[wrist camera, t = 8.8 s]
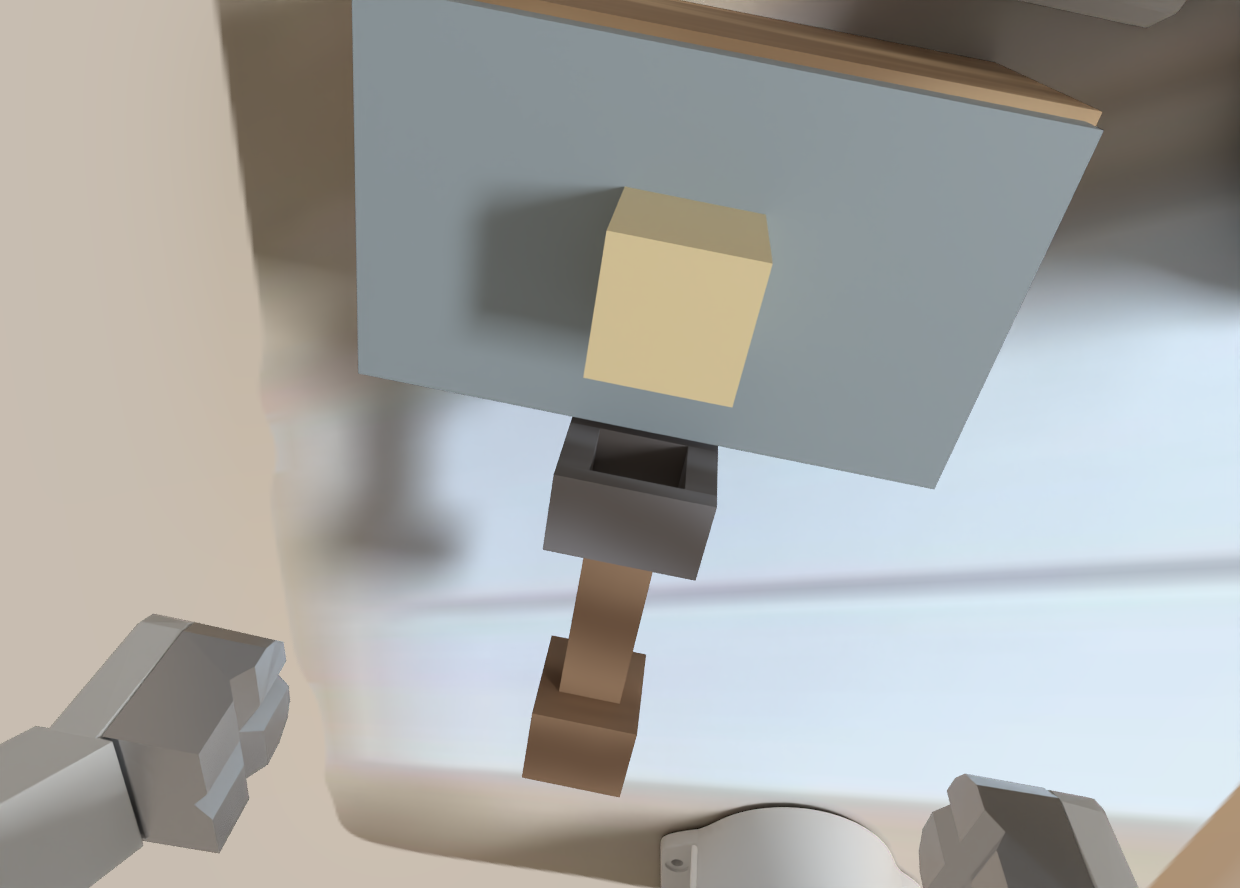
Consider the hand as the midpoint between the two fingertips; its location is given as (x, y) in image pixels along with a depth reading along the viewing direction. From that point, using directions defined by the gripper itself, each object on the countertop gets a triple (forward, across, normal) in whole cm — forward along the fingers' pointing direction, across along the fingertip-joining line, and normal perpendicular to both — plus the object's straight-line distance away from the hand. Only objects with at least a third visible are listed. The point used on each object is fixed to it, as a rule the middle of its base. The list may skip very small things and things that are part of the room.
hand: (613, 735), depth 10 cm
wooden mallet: (+17, 0, +16) cm, 23 cm away
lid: (+18, 0, 0) cm, 18 cm away
